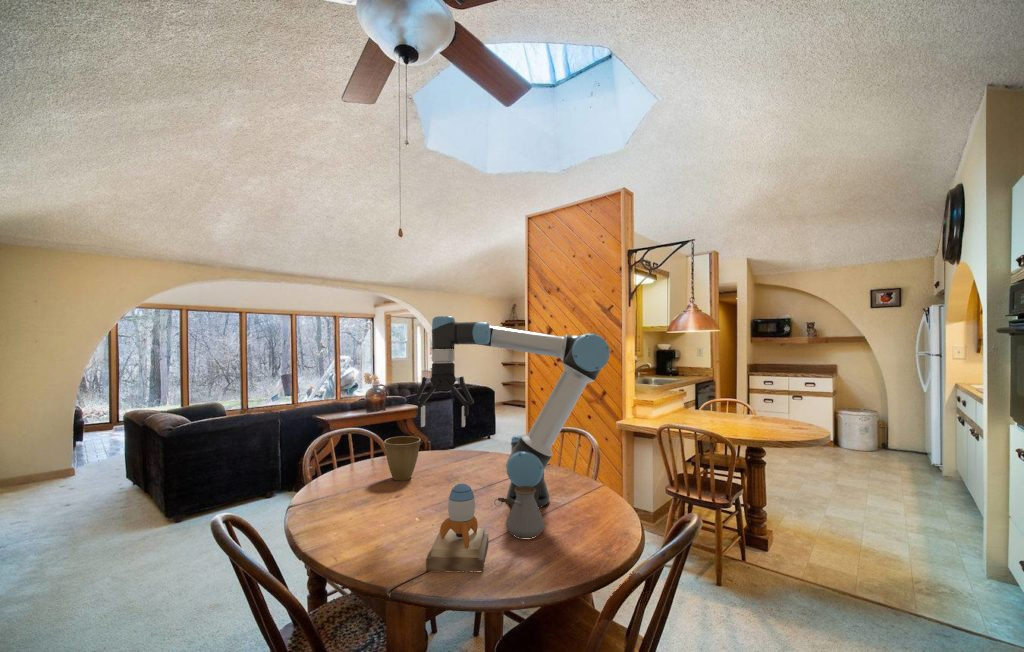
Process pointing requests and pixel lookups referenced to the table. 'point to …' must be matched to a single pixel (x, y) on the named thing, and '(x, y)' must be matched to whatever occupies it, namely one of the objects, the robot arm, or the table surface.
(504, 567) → the table surface
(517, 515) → the coffee pot
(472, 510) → the toy rocket
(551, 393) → the robot arm
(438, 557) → the pad
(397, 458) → the plant pot
